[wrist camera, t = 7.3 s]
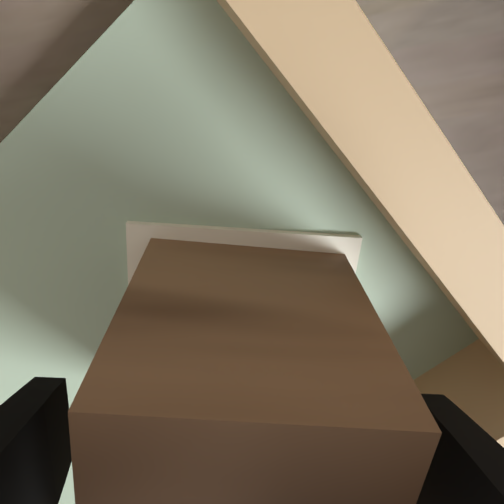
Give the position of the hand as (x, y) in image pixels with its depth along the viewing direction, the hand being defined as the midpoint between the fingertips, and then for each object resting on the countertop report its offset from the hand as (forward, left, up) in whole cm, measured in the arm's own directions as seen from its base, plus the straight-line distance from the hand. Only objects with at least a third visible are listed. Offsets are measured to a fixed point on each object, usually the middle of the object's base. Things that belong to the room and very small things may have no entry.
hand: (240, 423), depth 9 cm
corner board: (+1, +3, -5) cm, 6 cm away
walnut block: (0, 0, -3) cm, 3 cm away
